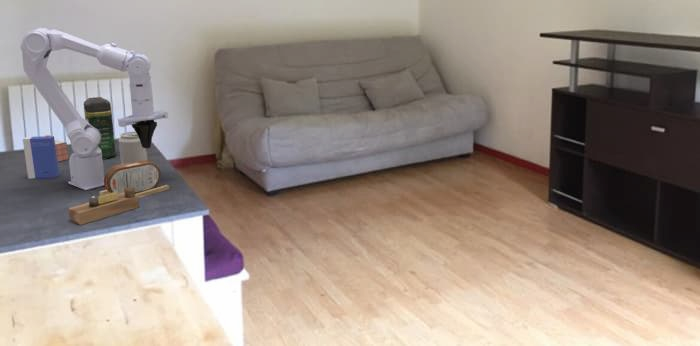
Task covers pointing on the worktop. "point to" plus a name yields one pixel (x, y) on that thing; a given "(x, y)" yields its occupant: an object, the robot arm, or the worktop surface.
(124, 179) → the tin
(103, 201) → the brass lever
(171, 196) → the worktop surface
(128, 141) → the can
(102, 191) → the oak guide strips
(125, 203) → the wooden block with knobs
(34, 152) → the walkman
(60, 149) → the puzzle toy
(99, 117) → the coffee jar
